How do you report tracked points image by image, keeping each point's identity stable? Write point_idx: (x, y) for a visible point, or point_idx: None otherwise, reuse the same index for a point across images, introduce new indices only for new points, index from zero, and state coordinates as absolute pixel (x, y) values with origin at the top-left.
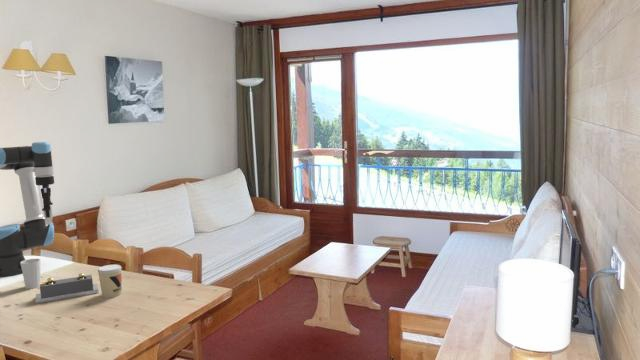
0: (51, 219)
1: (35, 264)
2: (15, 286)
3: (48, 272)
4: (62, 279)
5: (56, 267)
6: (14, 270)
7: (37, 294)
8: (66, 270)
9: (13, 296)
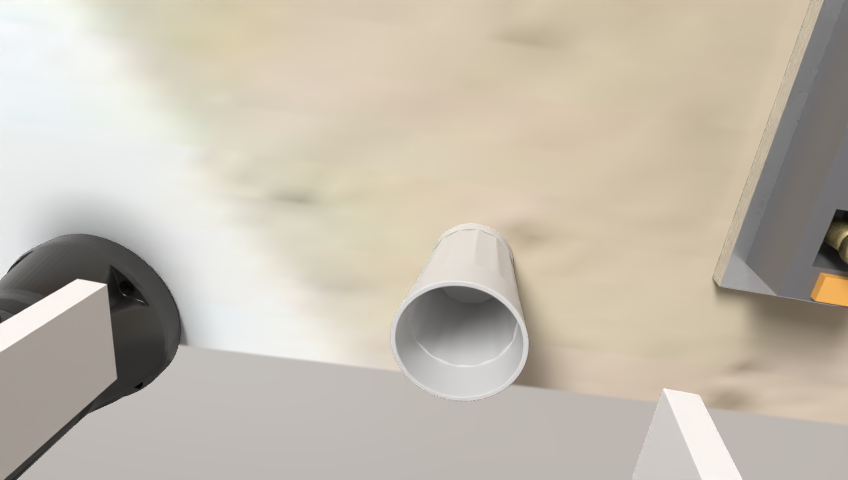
0: (734, 471)
1: (521, 314)
2: None
3: (220, 149)
4: (838, 161)
5: (126, 89)
6: (160, 319)
7: (732, 282)
8: (236, 41)
9: (585, 362)
